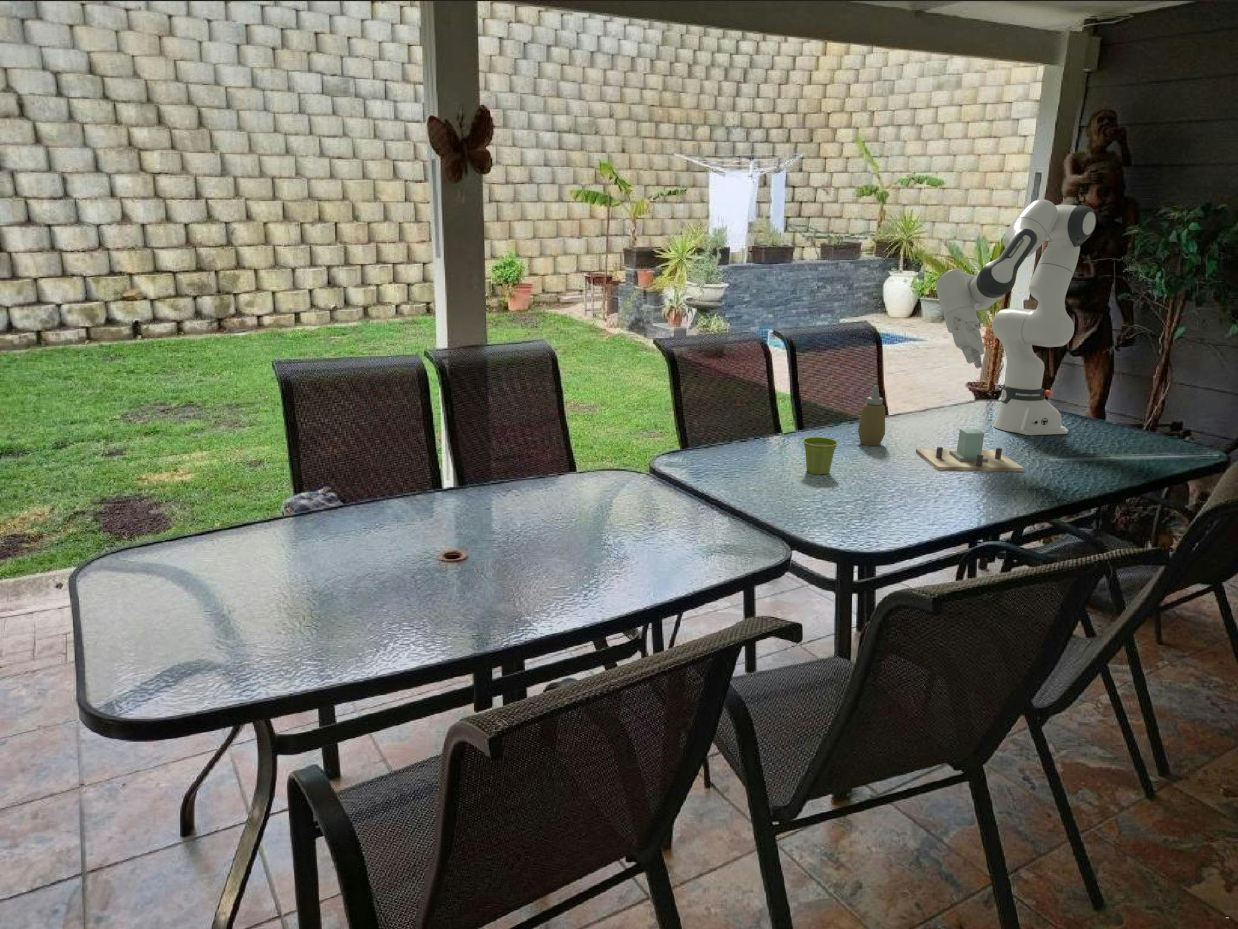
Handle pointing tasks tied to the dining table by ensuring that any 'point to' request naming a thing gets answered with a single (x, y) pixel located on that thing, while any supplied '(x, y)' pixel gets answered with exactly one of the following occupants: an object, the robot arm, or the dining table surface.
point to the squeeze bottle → (872, 420)
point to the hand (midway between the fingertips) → (975, 365)
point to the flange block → (969, 446)
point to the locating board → (947, 462)
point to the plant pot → (819, 454)
